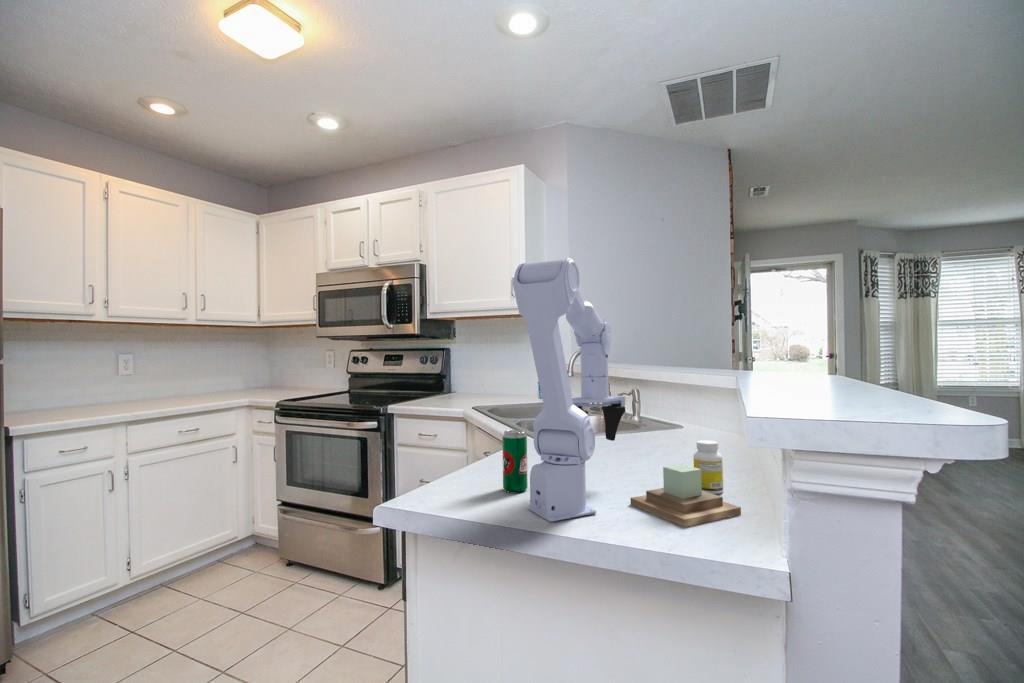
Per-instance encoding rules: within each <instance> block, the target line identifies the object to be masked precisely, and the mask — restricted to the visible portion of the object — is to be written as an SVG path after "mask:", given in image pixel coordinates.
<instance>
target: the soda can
mask: <svg viewBox="0 0 1024 683" xmlns="http://www.w3.org/2000/svg"><path fill="white" fill-rule="evenodd" d="M503 432H504V434H503V435H502V488H503V490H504V491H505V490H506V491H505V492H507V491H509V492H508V493H510V492H520V493H523V492H525V491H526V490H527V489H528V488H529V487H528V486H529V485H528V436H527V434H526V431H525V430H522V429H521V430H520V429H510V430H509V429H508V430H504V431H503ZM522 491H523V492H522Z"/></svg>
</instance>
